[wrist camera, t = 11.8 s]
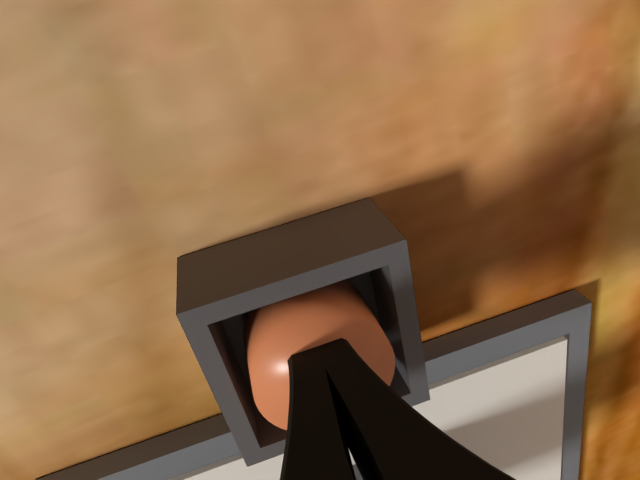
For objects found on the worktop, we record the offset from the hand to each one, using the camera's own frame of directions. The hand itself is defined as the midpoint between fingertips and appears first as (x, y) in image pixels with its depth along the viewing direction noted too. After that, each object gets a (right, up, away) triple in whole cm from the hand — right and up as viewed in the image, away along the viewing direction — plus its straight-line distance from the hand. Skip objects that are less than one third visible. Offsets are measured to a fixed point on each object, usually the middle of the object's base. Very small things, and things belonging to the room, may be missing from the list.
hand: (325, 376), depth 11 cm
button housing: (-1, +1, +3) cm, 3 cm away
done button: (0, +1, +2) cm, 2 cm away
